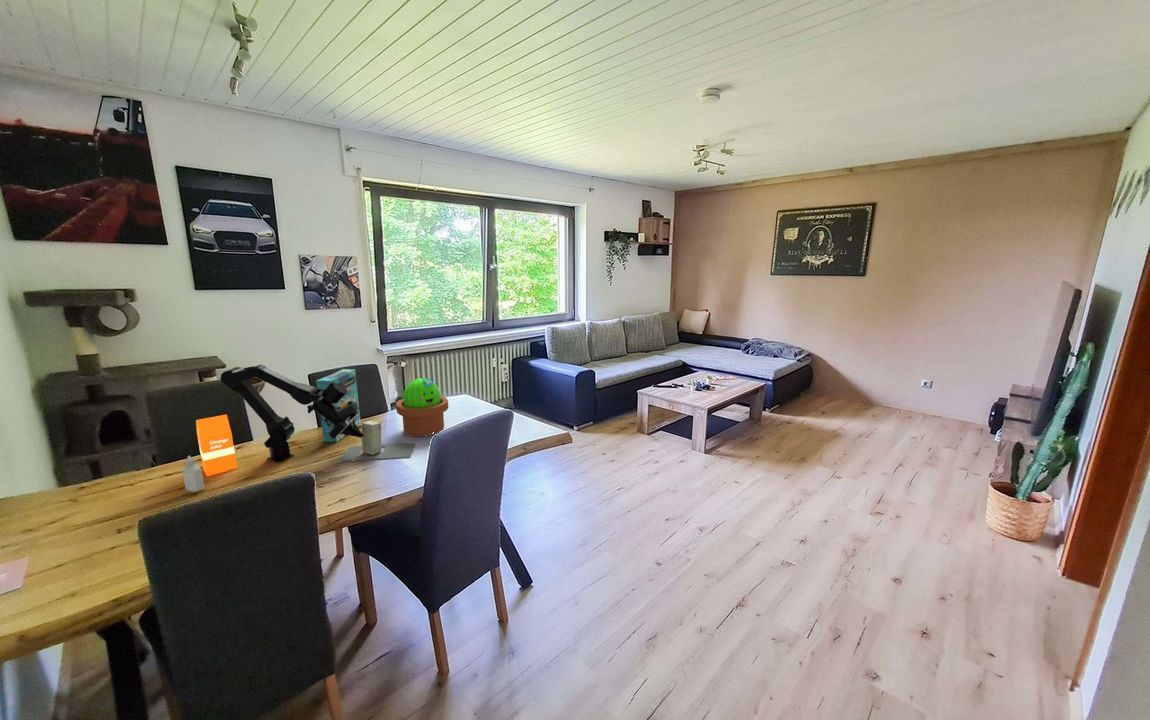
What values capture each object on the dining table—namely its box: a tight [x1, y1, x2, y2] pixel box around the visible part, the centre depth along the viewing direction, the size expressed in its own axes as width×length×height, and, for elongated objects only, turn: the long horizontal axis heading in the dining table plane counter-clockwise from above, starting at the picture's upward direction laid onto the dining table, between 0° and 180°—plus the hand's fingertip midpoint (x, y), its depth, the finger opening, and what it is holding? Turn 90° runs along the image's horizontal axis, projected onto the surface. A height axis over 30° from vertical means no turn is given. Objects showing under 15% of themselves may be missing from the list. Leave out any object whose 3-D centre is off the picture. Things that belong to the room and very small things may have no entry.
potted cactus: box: [395, 377, 449, 437], centre depth 196 cm, size 22×22×25 cm
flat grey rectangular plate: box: [338, 442, 417, 462], centre depth 175 cm, size 26×14×1 cm, turn 101°
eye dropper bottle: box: [181, 455, 205, 493], centre depth 143 cm, size 4×6×12 cm
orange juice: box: [195, 414, 238, 477], centre depth 157 cm, size 8×9×20 cm
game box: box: [315, 368, 362, 443], centre depth 190 cm, size 20×6×27 cm, turn 179°
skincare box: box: [361, 420, 382, 456], centre depth 173 cm, size 6×4×12 cm
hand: (362, 436), depth 172 cm, fingers closed
